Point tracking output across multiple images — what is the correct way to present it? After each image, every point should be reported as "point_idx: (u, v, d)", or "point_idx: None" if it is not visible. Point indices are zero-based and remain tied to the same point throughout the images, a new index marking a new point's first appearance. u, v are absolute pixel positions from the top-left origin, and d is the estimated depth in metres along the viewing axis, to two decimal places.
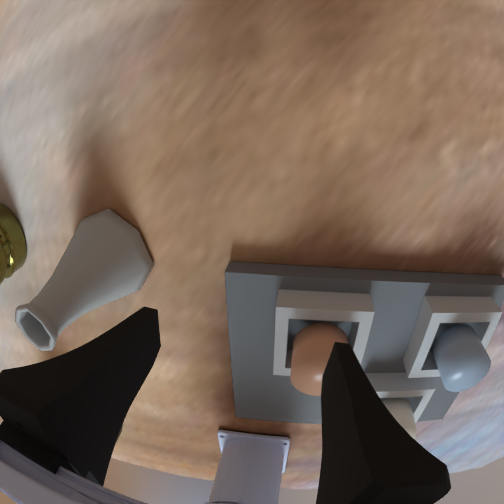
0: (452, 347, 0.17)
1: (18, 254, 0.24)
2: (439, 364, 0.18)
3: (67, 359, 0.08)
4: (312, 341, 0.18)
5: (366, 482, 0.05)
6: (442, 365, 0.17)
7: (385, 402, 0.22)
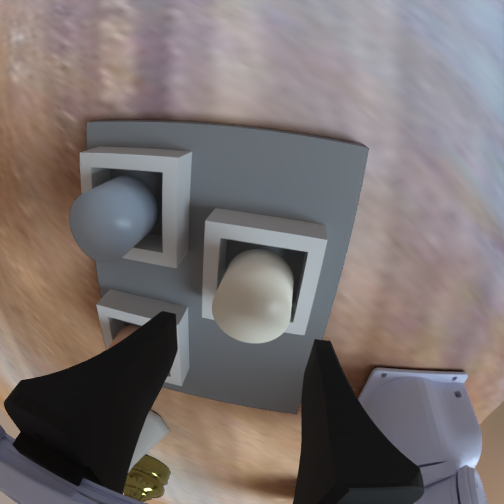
0: None
1: (148, 464, 0.35)
2: None
3: (89, 367, 0.08)
4: None
5: (332, 481, 0.05)
6: None
7: None
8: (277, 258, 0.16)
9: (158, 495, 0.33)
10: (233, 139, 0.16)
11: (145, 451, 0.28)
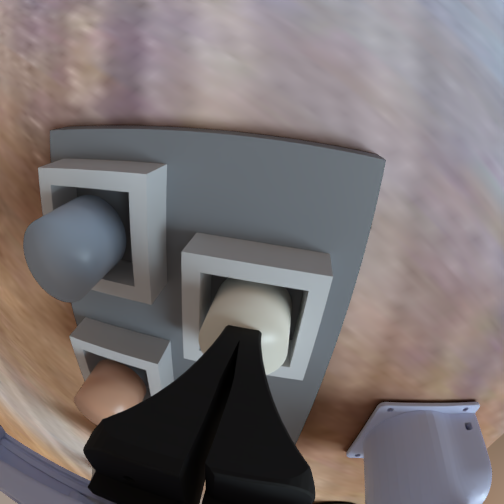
0: None
1: None
2: None
3: (174, 395, 0.08)
4: None
5: None
6: None
7: None
8: None
9: None
10: (216, 149, 0.13)
11: None
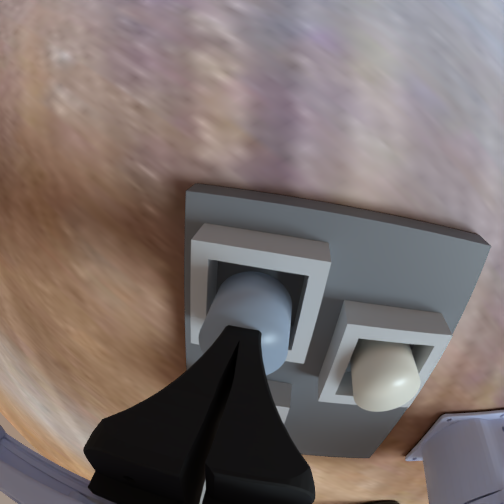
0: None
1: None
2: None
3: (174, 395, 0.08)
4: None
5: None
6: None
7: None
8: None
9: None
10: (375, 234, 0.14)
11: None
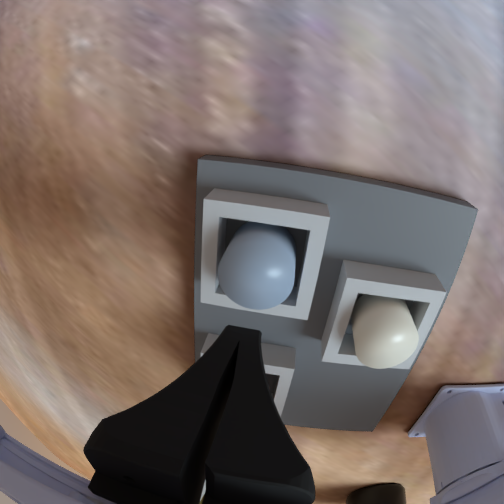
0: None
1: None
2: None
3: (174, 395, 0.08)
4: None
5: None
6: None
7: None
8: None
9: None
10: (370, 196, 0.16)
11: None
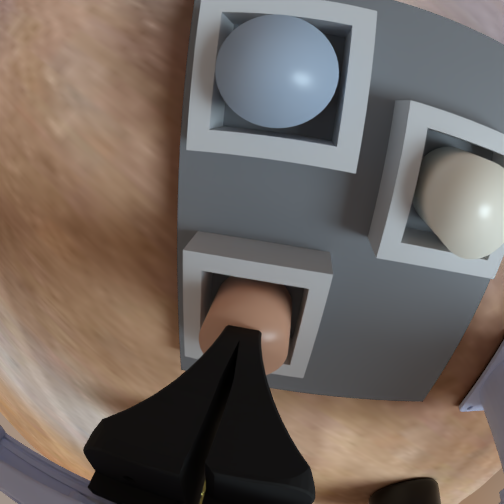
0: None
1: None
2: None
3: (174, 395, 0.08)
4: None
5: None
6: None
7: (414, 204, 0.12)
8: None
9: None
10: (418, 20, 0.09)
11: None
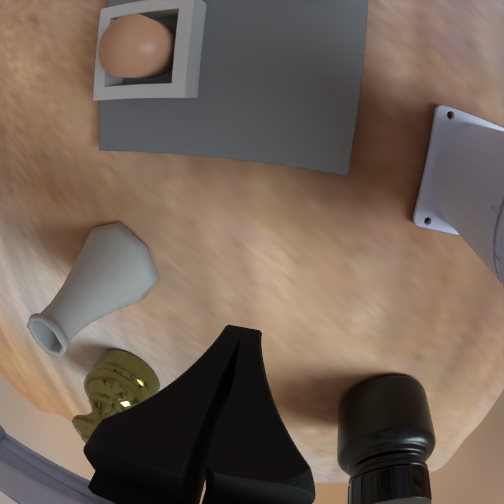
0: None
1: (129, 363, 0.29)
2: None
3: (174, 395, 0.08)
4: None
5: None
6: None
7: None
8: None
9: None
10: None
11: (118, 296, 0.21)
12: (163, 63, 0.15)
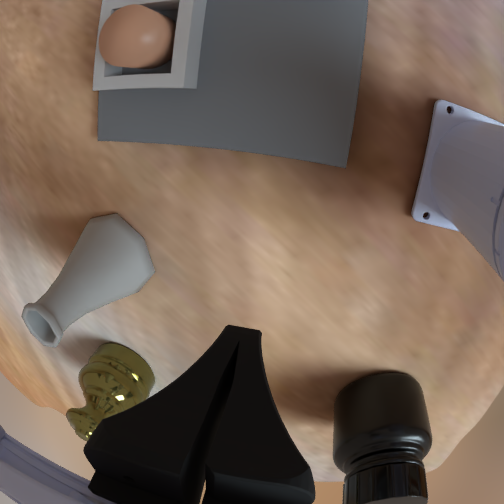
0: None
1: (124, 356, 0.28)
2: None
3: (174, 395, 0.08)
4: None
5: None
6: None
7: None
8: None
9: None
10: None
11: (114, 288, 0.21)
12: (162, 53, 0.14)
